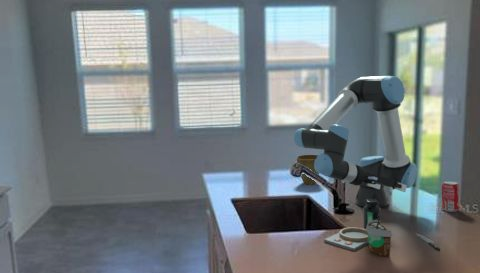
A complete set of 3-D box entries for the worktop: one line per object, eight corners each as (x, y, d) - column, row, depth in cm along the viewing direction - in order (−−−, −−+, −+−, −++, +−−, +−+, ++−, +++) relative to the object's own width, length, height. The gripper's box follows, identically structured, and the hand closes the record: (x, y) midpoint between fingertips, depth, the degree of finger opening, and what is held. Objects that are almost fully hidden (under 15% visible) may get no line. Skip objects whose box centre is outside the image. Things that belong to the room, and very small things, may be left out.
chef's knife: (420, 232, 168) (412, 232, 168) (420, 230, 168) (413, 230, 168) (445, 251, 149) (437, 251, 149) (446, 248, 149) (437, 248, 149)
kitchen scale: (324, 241, 161) (324, 236, 161) (349, 229, 172) (349, 224, 172) (354, 251, 152) (354, 245, 151) (378, 237, 163) (378, 232, 163)
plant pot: (297, 180, 259) (296, 154, 257) (321, 180, 257) (321, 154, 255) (296, 186, 245) (296, 159, 242) (323, 186, 242) (322, 159, 240)
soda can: (460, 212, 188) (461, 184, 187) (443, 212, 190) (444, 184, 188) (456, 207, 195) (457, 180, 193) (439, 207, 197) (440, 180, 195)
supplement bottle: (371, 232, 169) (372, 203, 167) (359, 227, 175) (359, 199, 173) (384, 229, 172) (384, 200, 170) (372, 224, 178) (372, 196, 176)
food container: (360, 246, 156) (360, 220, 154) (376, 245, 156) (377, 219, 155) (373, 260, 143) (374, 232, 142) (391, 259, 144) (391, 230, 143)
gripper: (329, 181, 171) (368, 193, 179) (372, 185, 148) (415, 199, 156) (333, 163, 172) (371, 176, 180) (376, 165, 149) (419, 180, 158)
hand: (392, 187), depth 168 cm, fingers open, 13 cm apart
